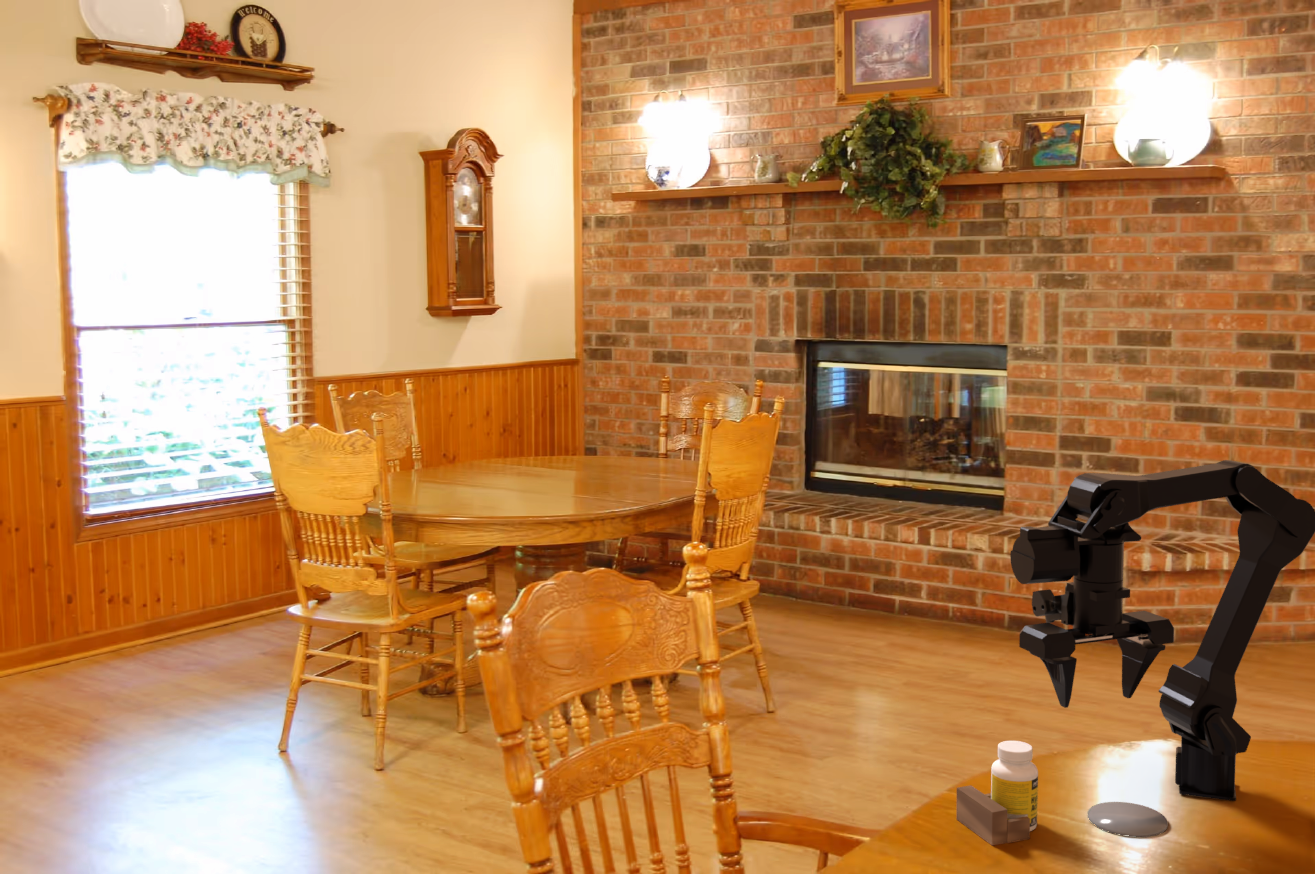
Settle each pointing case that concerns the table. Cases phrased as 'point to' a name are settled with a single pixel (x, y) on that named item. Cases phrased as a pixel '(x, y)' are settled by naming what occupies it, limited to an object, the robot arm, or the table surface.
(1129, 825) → the slate coaster
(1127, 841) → the table surface
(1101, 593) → the robot arm
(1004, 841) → the bracket
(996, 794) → the supplement bottle
